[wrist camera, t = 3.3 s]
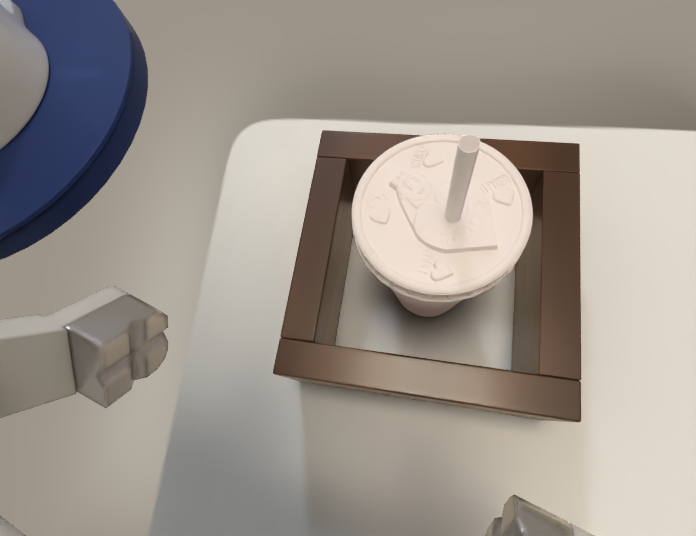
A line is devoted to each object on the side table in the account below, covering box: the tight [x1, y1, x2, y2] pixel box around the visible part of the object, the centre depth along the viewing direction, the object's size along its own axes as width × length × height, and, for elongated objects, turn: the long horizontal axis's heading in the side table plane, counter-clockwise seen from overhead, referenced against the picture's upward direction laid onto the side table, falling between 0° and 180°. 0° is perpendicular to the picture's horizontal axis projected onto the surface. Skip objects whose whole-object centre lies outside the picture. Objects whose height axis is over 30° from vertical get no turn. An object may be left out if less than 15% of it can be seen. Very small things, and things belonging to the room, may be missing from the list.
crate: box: [273, 130, 581, 422], centre depth 22 cm, size 13×13×5 cm
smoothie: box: [352, 134, 533, 317], centre depth 17 cm, size 6×6×14 cm
